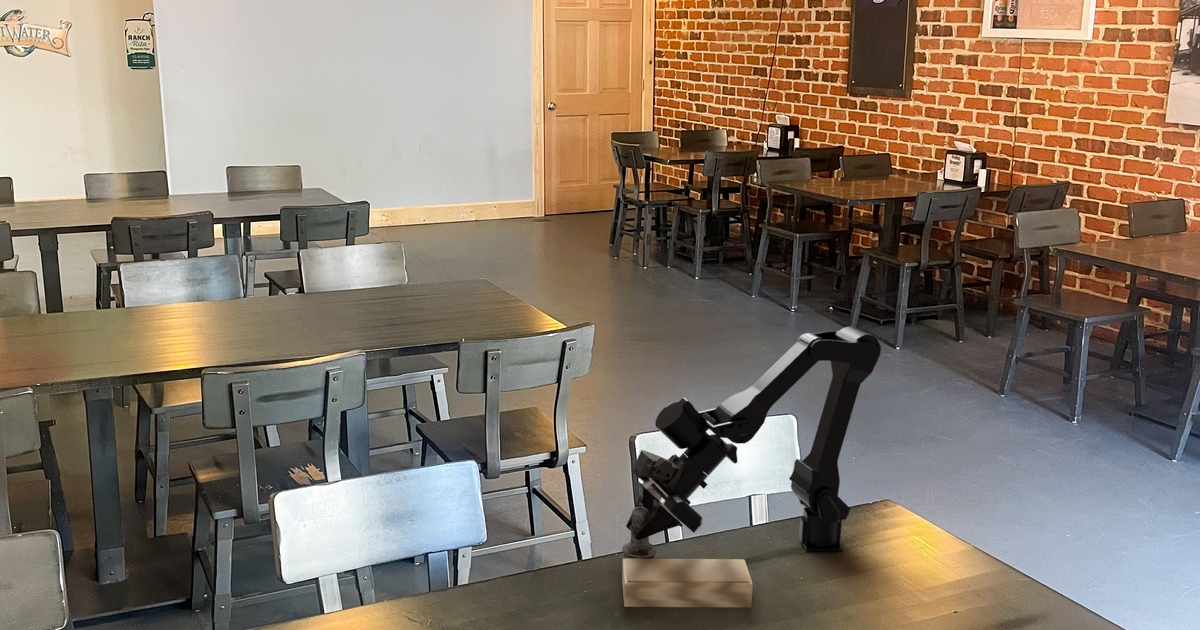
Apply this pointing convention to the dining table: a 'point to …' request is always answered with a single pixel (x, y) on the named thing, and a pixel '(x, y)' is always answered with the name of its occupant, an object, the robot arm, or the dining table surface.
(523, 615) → the dining table surface
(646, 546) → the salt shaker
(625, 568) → the tan wooden block
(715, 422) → the robot arm
